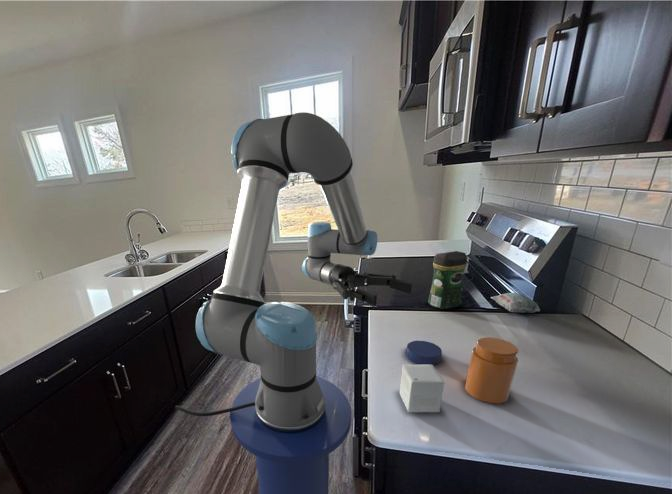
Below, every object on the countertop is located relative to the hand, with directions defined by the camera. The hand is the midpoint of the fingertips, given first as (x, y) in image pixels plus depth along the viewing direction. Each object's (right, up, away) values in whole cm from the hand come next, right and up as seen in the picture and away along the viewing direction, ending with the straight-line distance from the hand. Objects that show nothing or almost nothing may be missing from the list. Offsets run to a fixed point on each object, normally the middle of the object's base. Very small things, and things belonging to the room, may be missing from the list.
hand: (393, 294), depth 83 cm
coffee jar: (+27, -3, +26) cm, 37 cm away
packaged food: (+46, -5, +19) cm, 50 cm away
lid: (+6, -14, -4) cm, 16 cm away
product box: (-2, -23, -19) cm, 29 cm away
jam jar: (+13, -21, -17) cm, 30 cm away
